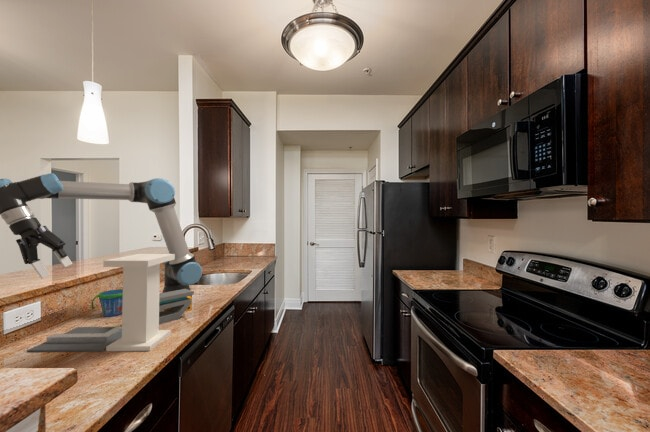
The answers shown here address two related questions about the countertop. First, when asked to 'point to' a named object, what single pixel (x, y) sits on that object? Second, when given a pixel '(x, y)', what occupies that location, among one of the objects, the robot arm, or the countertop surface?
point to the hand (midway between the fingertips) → (57, 271)
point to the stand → (140, 301)
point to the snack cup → (110, 302)
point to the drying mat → (77, 346)
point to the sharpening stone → (173, 304)
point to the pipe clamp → (187, 308)
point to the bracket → (85, 337)
